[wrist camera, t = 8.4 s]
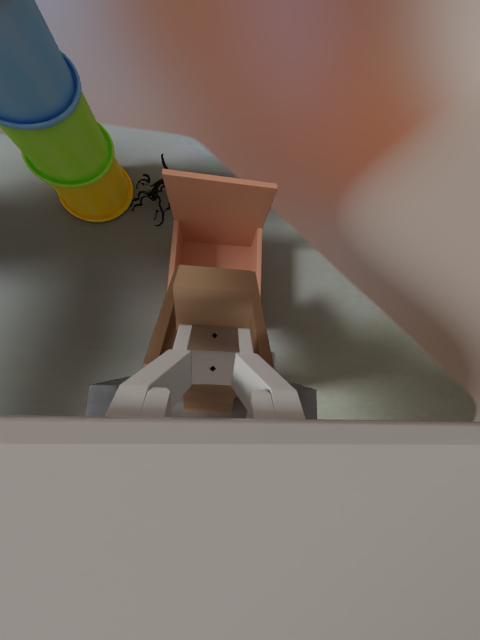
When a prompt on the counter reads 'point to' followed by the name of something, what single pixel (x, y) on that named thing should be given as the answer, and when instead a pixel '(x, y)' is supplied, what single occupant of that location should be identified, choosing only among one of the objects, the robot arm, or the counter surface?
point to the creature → (152, 192)
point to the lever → (217, 311)
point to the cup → (217, 220)
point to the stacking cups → (56, 118)
